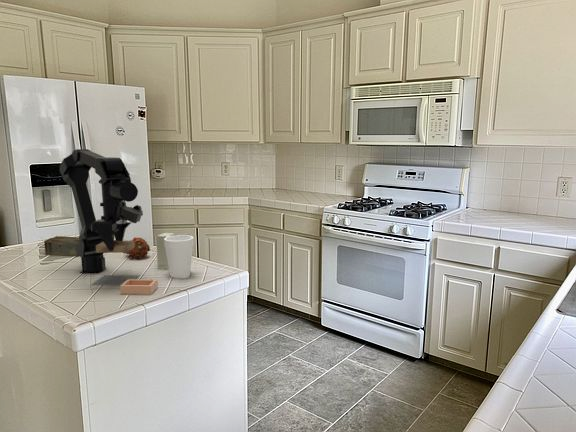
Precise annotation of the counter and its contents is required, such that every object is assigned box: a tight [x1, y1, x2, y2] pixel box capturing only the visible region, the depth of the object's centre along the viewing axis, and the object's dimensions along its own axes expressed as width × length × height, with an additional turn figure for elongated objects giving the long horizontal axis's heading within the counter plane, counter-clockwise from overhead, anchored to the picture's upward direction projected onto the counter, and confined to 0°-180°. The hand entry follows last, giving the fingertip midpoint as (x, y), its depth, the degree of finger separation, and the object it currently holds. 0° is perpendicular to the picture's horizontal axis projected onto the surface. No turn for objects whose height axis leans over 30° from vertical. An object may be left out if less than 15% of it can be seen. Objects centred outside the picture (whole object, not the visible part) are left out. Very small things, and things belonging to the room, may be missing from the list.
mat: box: [90, 274, 141, 286], centre depth 138 cm, size 12×10×1 cm
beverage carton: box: [43, 235, 80, 257], centre depth 171 cm, size 8×19×7 cm, turn 82°
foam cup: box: [164, 234, 194, 280], centre depth 143 cm, size 10×9×13 cm
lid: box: [96, 239, 135, 254], centre depth 136 cm, size 10×6×3 cm
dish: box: [119, 278, 159, 296], centre depth 128 cm, size 9×6×3 cm, turn 89°
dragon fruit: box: [125, 237, 151, 259], centre depth 167 cm, size 8×8×12 cm
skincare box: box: [155, 232, 176, 271], centre depth 152 cm, size 6×4×12 cm
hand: (115, 248), depth 136 cm, fingers closed on lid, 6 cm apart
